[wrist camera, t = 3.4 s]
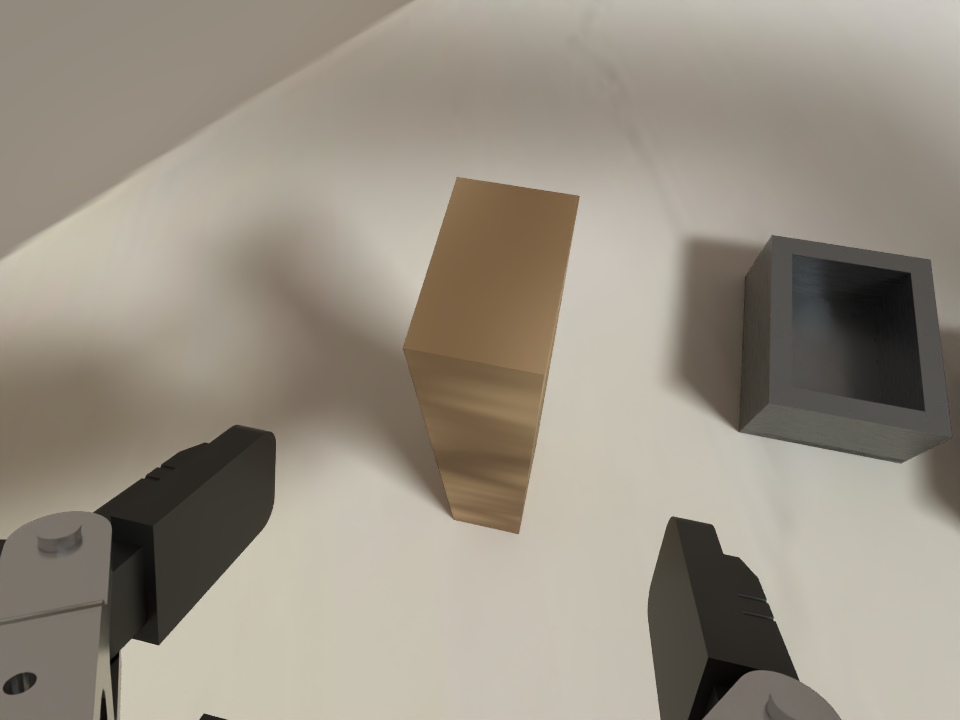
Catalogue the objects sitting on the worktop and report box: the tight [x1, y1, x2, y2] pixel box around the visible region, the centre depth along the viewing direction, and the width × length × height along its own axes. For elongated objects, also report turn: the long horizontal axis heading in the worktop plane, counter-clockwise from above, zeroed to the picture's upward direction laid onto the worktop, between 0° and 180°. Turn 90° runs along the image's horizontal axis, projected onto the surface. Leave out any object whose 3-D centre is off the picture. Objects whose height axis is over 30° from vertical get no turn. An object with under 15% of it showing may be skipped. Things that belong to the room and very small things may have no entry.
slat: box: [403, 177, 579, 534], centre depth 18 cm, size 2×4×14 cm, turn 168°
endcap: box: [739, 235, 952, 463], centre depth 24 cm, size 6×8×3 cm
